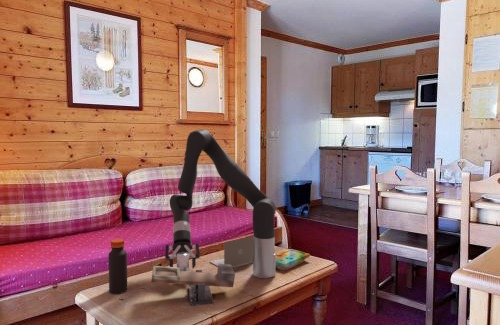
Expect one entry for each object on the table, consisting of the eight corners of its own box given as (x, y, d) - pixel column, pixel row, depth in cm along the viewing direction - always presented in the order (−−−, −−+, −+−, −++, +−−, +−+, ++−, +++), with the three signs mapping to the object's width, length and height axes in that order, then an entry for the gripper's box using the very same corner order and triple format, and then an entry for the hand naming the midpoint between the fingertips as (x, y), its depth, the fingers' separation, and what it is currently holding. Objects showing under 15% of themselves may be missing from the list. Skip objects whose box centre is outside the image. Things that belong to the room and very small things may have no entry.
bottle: (114, 296, 142) (113, 244, 140) (105, 291, 146) (104, 240, 145) (130, 290, 147) (130, 240, 145) (121, 285, 151) (120, 237, 150)
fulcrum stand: (208, 286, 152) (208, 268, 151) (213, 303, 136) (213, 284, 136) (188, 287, 150) (188, 270, 150) (190, 305, 135) (190, 286, 134)
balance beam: (228, 277, 150) (230, 264, 150) (233, 287, 141) (235, 273, 140) (152, 272, 144) (154, 258, 143) (151, 282, 134) (153, 268, 134)
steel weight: (188, 279, 159) (188, 251, 158) (189, 284, 154) (189, 255, 153) (176, 280, 158) (176, 252, 157) (176, 285, 153) (176, 256, 152)
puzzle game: (265, 256, 176) (290, 247, 191) (265, 266, 176) (289, 256, 191) (285, 262, 168) (309, 252, 183) (285, 272, 169) (309, 261, 184)
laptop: (239, 255, 191) (239, 230, 190) (255, 262, 181) (255, 236, 180) (209, 262, 180) (209, 236, 179) (224, 270, 170) (224, 242, 169)
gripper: (165, 229, 160) (165, 265, 150) (198, 228, 163) (200, 263, 153) (165, 238, 166) (165, 273, 156) (197, 237, 169) (199, 271, 159)
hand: (182, 268), depth 155 cm, fingers open, 8 cm apart
